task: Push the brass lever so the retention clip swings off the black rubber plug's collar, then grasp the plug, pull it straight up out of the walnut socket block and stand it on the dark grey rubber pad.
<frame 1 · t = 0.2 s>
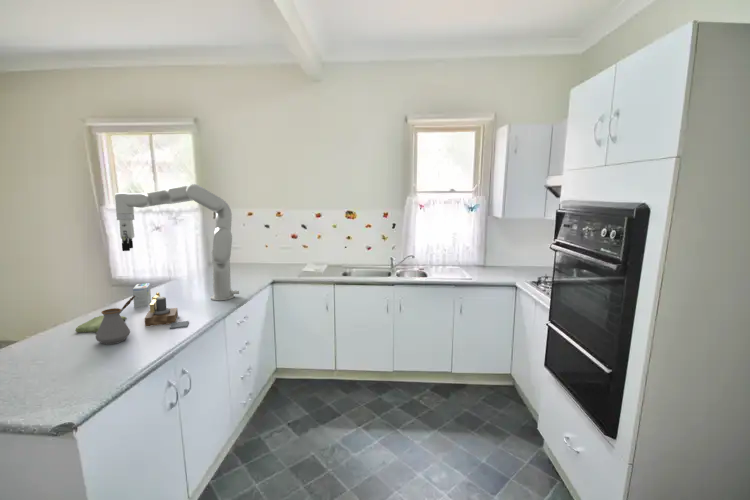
hand: (127, 249, 184), 31 cm above the worktop, fingers open, 9 cm apart
plug: (162, 320, 167), resting in socket block
clip: (155, 302, 170), point 8 cm above the worktop, hinge at 0.0°
socket block: (162, 320, 167), on the worktop
light bulb box: (143, 305, 191), on the worktop
coffee pot: (122, 336, 148), on the worktop
washcloth: (102, 327, 159), on the worktop
pad: (179, 325, 162), on the worktop
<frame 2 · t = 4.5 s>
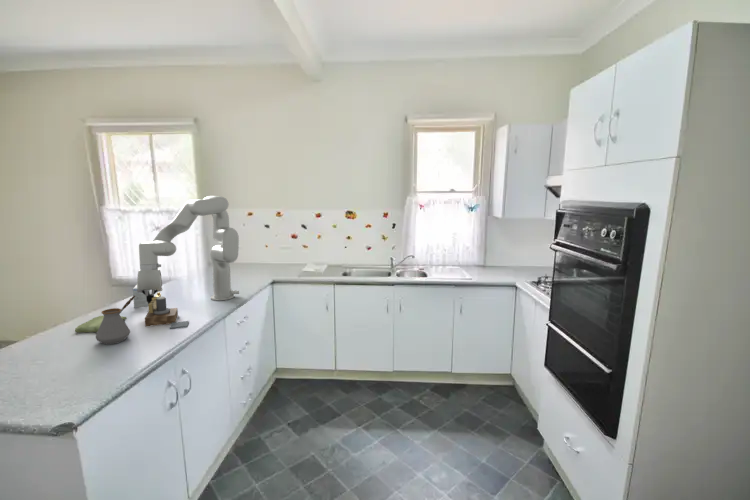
hand: (150, 302, 175), 6 cm above the worktop, fingers closed
clip: (155, 302, 170), point 8 cm above the worktop, hinge at -3.4°, touching gripper
everything else where it was.
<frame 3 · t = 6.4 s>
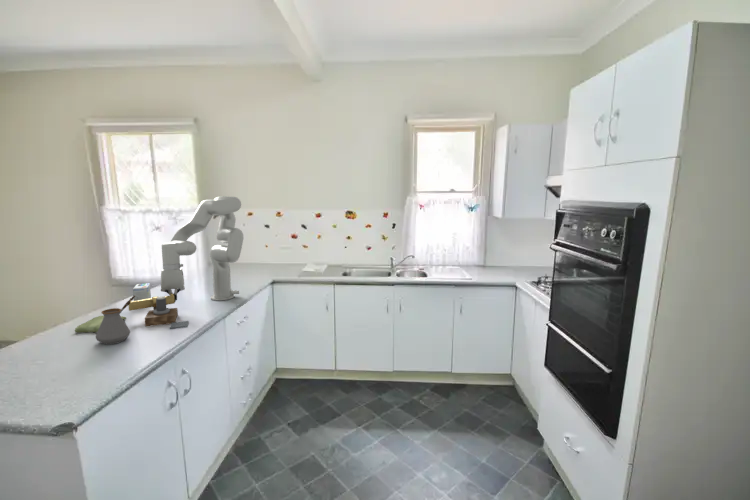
hand: (173, 301, 179), 6 cm above the worktop, fingers closed
clip: (152, 301, 170), point 8 cm above the worktop, hinge at -71.1°
everything else where it was.
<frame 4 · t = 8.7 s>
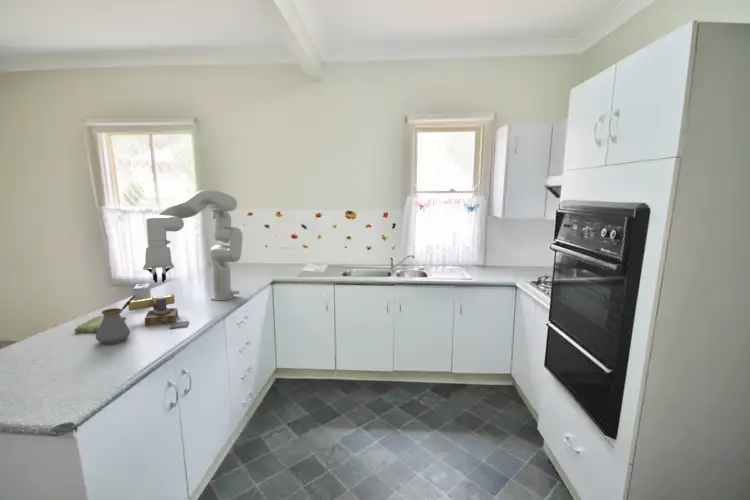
hand: (159, 281, 164), 19 cm above the worktop, fingers closed
nothing on the worktop moved.
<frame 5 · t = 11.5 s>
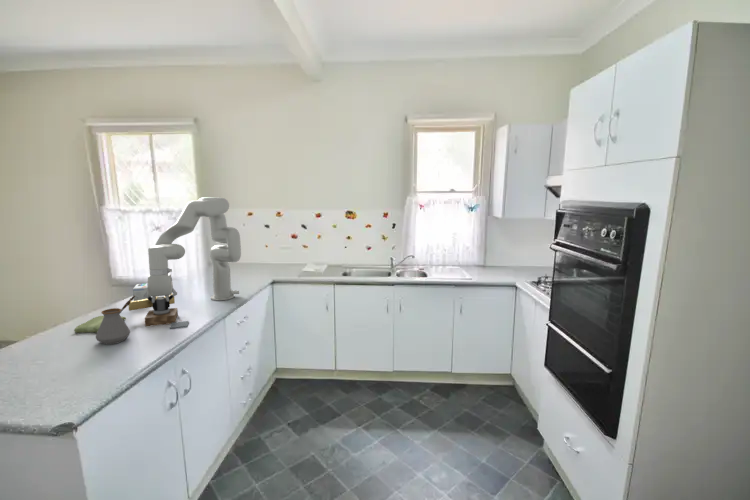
hand: (161, 309, 166), 6 cm above the worktop, fingers closed on plug, 4 cm apart
plug: (162, 320, 167), resting in socket block, touching gripper
everything else where it was.
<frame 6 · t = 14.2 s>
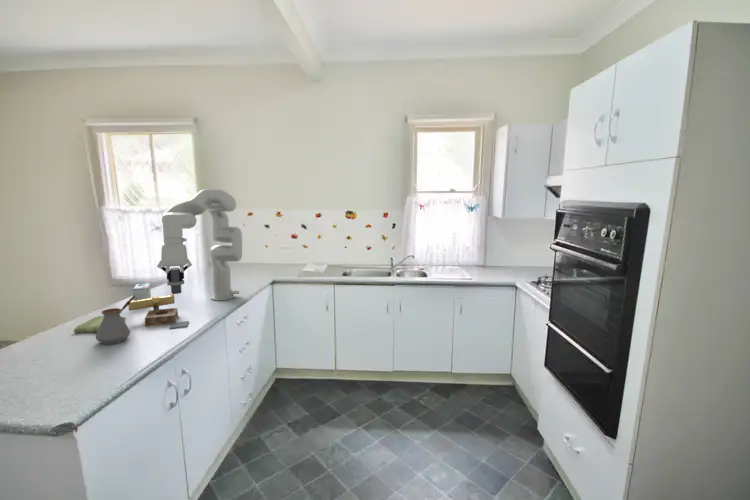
hand: (175, 280, 159), 21 cm above the worktop, fingers closed on plug, 4 cm apart
plug: (176, 292, 160), point 16 cm above the worktop, touching gripper
everything else where it was.
when the fingers open (8 cm above the worktop, at t = 17.1 s): plug drops 1 cm, resting on pad.
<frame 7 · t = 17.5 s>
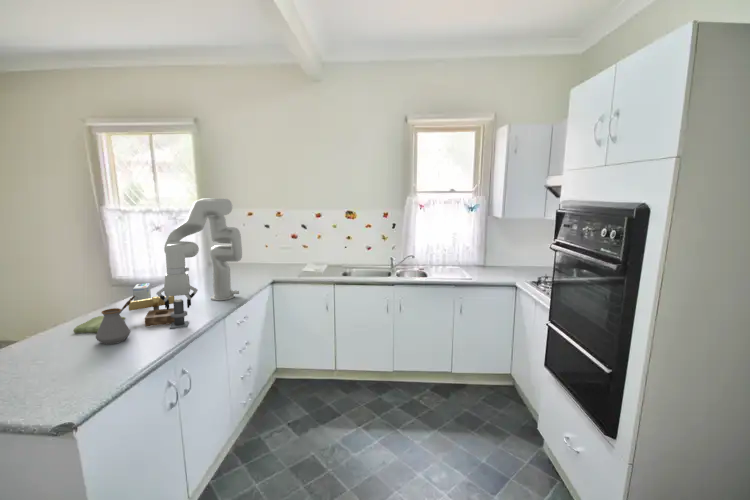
hand: (178, 307, 161), 8 cm above the worktop, fingers open, 7 cm apart
plug: (179, 324, 162), point 1 cm above the worktop, touching pad
everything else where it was.
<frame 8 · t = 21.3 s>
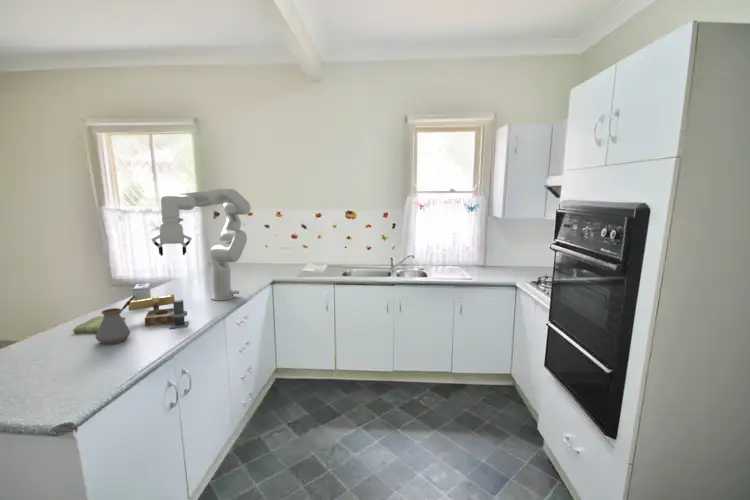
hand: (173, 254, 174), 30 cm above the worktop, fingers open, 9 cm apart
nothing on the worktop moved.
at the end: clip at -71° (first picture: +0°); plug inside the target area on the pad (0.1 cm from its centre), point 0.6 cm above the pad's base; plug tilted 1° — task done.
